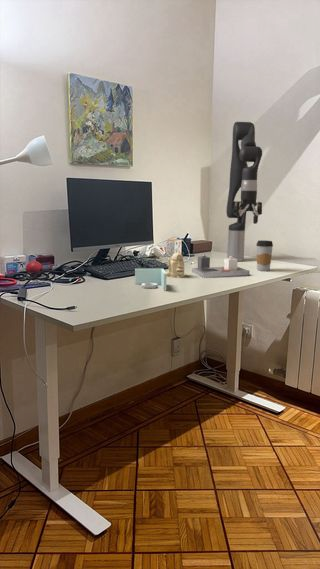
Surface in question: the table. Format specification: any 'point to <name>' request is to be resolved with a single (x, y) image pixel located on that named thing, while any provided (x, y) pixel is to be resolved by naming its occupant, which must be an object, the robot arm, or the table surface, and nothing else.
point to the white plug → (230, 263)
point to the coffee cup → (264, 255)
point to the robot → (176, 266)
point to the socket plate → (220, 272)
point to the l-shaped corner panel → (150, 278)
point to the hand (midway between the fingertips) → (247, 223)
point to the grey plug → (203, 262)
